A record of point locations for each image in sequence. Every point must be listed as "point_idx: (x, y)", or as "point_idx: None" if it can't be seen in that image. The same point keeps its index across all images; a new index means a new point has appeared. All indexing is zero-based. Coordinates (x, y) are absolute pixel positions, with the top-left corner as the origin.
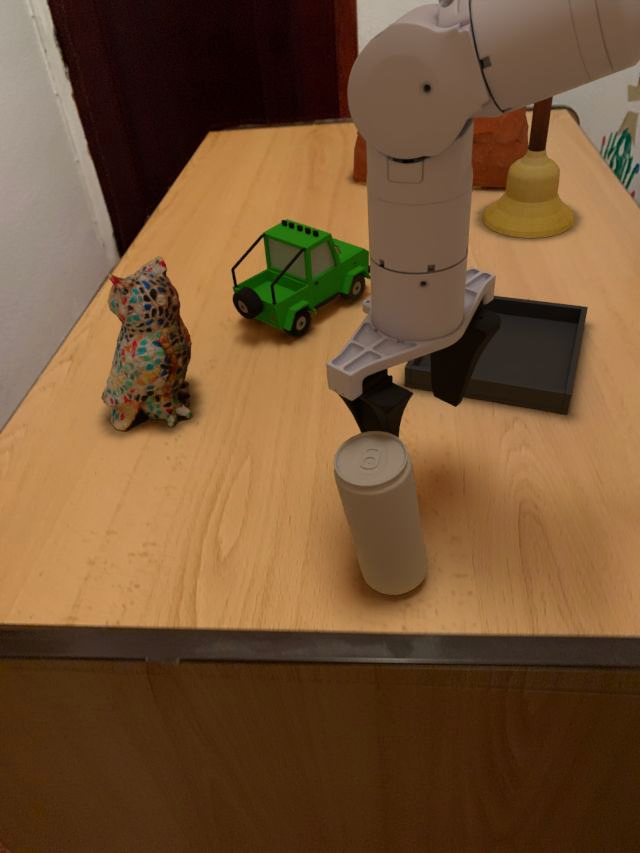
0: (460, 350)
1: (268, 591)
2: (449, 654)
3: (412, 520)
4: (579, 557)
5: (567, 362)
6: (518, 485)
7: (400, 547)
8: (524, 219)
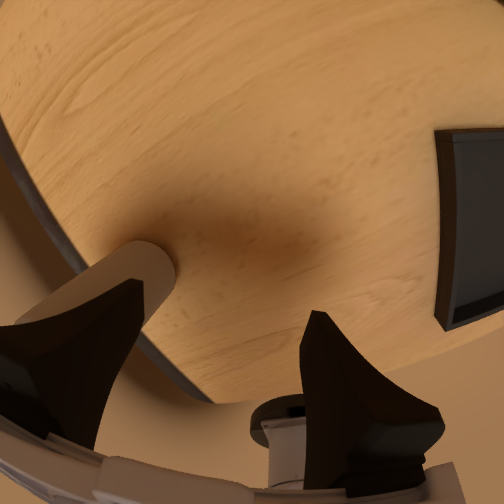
0: (314, 440)
1: (66, 178)
2: None
3: None
4: (260, 375)
5: (498, 290)
6: None
7: None
8: None
